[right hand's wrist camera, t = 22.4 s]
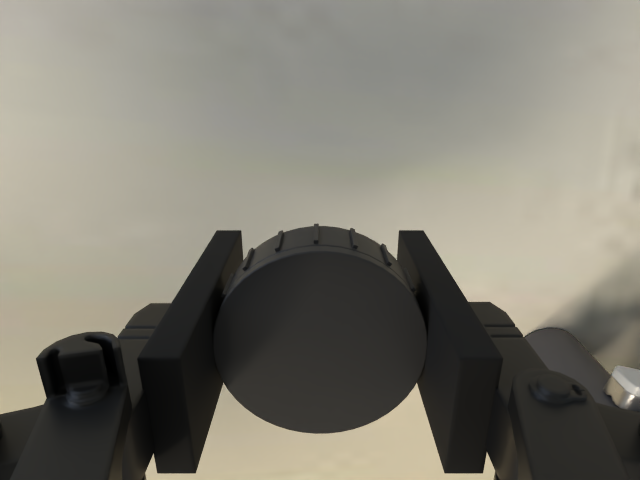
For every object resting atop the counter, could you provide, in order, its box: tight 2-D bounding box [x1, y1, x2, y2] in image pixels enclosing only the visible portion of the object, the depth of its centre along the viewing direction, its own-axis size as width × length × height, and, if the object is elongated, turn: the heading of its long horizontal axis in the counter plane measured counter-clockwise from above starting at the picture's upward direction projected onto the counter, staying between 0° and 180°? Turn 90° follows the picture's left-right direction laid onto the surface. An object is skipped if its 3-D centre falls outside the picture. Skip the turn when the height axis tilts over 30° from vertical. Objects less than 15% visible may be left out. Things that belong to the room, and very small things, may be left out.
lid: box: [213, 224, 428, 433], centre depth 11 cm, size 5×5×2 cm
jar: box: [525, 328, 619, 408], centre depth 23 cm, size 4×4×15 cm
